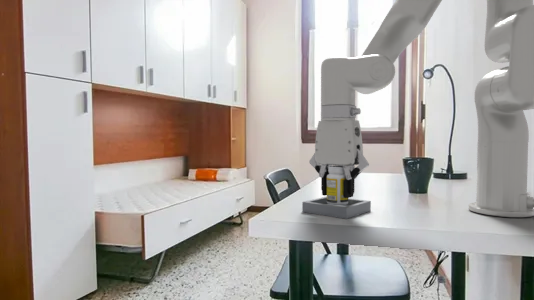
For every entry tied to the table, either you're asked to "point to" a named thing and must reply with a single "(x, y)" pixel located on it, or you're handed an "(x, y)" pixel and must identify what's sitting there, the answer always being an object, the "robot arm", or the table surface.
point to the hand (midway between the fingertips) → (337, 195)
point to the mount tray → (336, 208)
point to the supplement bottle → (336, 186)
